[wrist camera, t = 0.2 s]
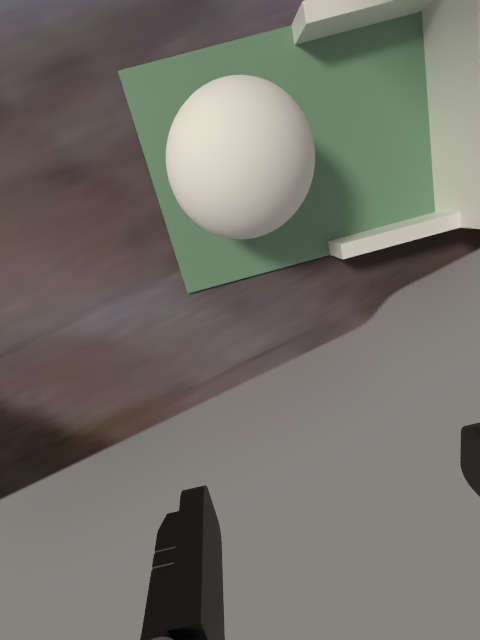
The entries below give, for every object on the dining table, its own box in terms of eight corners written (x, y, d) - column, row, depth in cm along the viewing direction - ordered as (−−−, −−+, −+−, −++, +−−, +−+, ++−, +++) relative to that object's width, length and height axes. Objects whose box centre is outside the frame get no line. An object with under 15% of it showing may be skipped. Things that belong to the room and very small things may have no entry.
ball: (156, 121, 32) (128, 71, 21) (280, 87, 32) (321, 20, 21) (193, 247, 36) (187, 265, 24) (304, 217, 36) (350, 221, 24)
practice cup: (101, 15, 29) (-338, -798, 6) (430, -71, 30) (1315, -1180, 6) (187, 292, 37) (155, 435, 14) (447, 222, 38) (856, 241, 14)
